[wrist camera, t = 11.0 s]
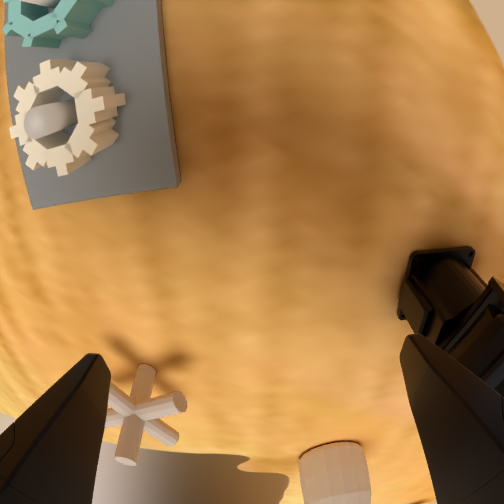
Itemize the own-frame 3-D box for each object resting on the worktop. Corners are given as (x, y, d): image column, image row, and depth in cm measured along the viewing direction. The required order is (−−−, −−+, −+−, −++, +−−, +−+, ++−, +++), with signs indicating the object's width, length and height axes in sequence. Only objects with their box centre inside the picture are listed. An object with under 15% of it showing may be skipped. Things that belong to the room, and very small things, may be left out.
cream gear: (119, 46, 14) (97, 41, 11) (133, 151, 17) (114, 164, 14) (31, 77, 14) (3, 81, 11) (47, 170, 17) (22, 185, 14)
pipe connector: (144, 405, 31) (129, 483, 22) (79, 350, 27) (45, 434, 18) (218, 385, 29) (213, 478, 20) (151, 318, 24) (120, 424, 16)
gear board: (158, -86, 10) (133, -127, 5) (181, 181, 19) (158, 218, 14) (17, -29, 10) (-31, -41, 5) (41, 203, 19) (-4, 240, 14)
